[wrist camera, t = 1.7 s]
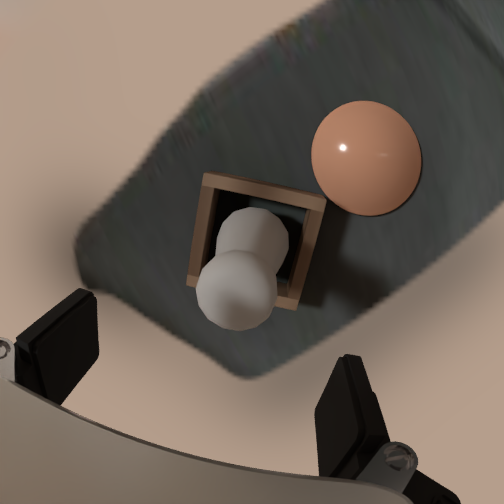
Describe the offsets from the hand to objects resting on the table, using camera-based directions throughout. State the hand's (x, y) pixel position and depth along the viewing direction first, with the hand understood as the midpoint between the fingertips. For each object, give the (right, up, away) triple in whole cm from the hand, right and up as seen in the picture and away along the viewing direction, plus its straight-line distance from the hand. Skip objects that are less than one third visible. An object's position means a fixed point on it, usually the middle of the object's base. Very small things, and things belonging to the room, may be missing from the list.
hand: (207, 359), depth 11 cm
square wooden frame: (+2, +5, +17) cm, 18 cm away
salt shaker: (+2, +5, +17) cm, 18 cm away
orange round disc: (+12, +12, +14) cm, 22 cm away
